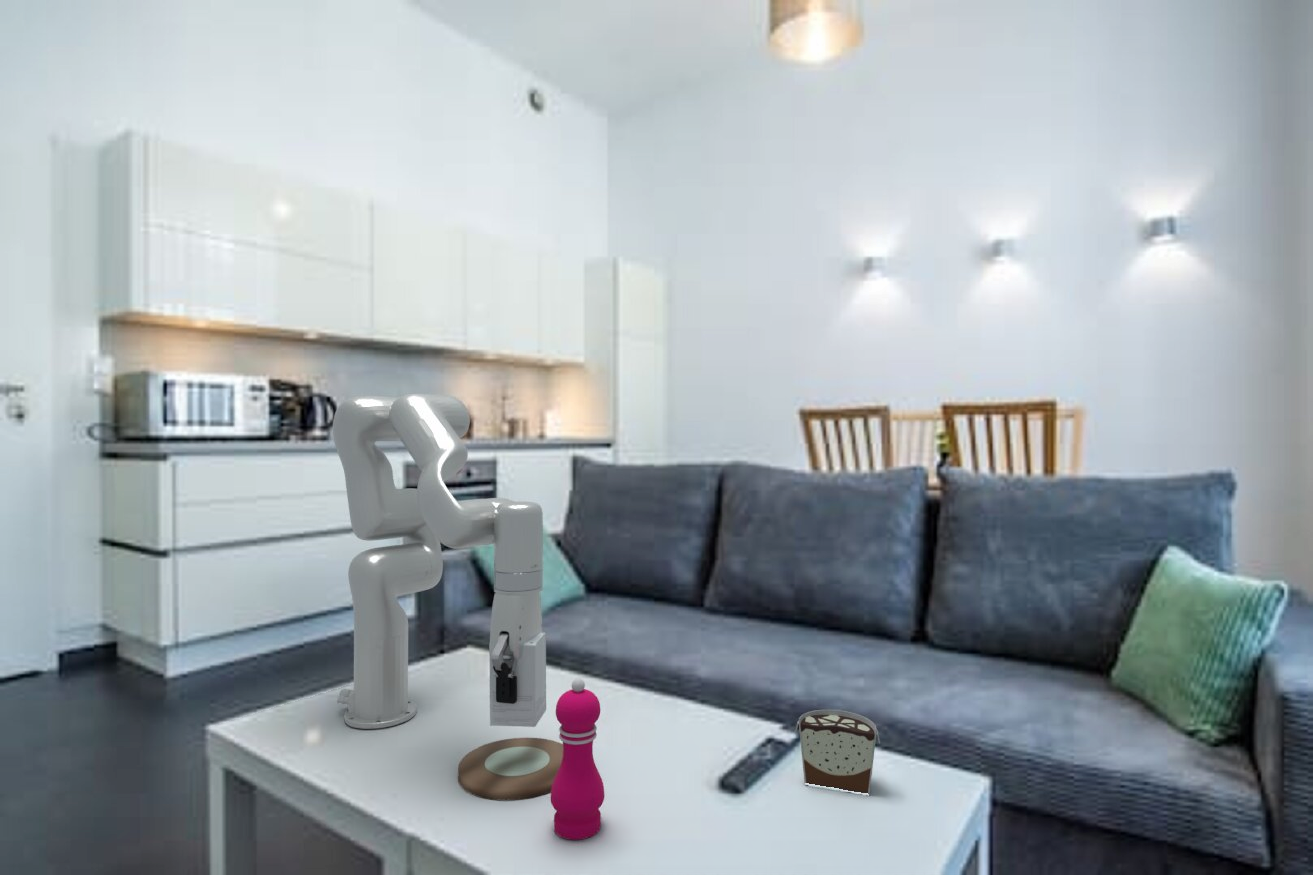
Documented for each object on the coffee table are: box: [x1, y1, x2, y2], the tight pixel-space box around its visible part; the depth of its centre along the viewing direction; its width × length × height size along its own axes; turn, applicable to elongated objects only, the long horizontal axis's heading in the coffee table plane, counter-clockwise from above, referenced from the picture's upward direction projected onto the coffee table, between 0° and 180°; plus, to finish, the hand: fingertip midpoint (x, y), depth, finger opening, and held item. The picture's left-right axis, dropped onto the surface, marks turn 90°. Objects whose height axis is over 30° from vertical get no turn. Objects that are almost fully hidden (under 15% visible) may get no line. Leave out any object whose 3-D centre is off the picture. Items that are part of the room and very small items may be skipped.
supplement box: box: [488, 632, 547, 728], centre depth 112 cm, size 7×7×13 cm
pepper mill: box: [550, 677, 605, 841], centre depth 96 cm, size 7×7×20 cm
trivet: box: [457, 737, 563, 801], centre depth 112 cm, size 18×18×2 cm
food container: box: [795, 709, 881, 795], centre depth 109 cm, size 12×6×10 cm, turn 71°
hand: (518, 691), depth 112 cm, fingers closed on supplement box, 8 cm apart
